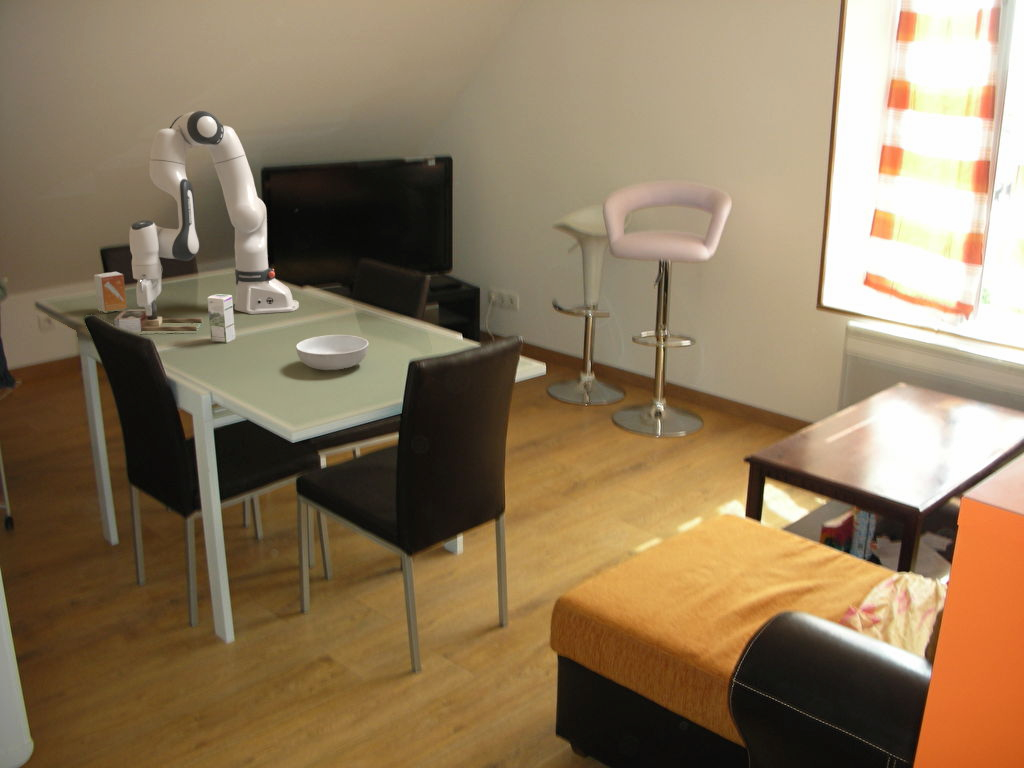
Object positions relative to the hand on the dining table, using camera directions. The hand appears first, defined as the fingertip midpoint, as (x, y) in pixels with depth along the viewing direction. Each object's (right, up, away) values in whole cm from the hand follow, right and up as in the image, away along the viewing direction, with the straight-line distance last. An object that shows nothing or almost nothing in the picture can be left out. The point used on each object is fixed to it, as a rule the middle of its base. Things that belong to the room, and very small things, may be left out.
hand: (151, 313), depth 343 cm
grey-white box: (-6, -5, +1) cm, 8 cm away
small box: (-22, +2, +24) cm, 33 cm away
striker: (0, -5, +2) cm, 5 cm away
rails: (+6, -5, +2) cm, 8 cm away
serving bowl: (+66, -18, -36) cm, 77 cm away
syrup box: (+27, -9, -11) cm, 30 cm away
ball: (-6, -3, 0) cm, 7 cm away
